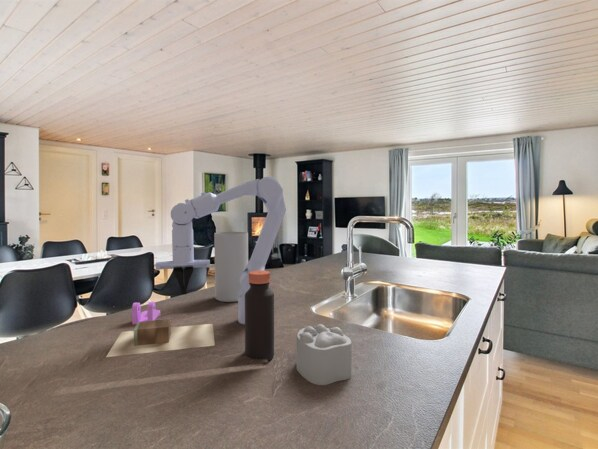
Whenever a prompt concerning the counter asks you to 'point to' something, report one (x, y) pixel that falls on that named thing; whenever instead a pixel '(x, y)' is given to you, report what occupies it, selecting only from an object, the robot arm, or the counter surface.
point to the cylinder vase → (229, 263)
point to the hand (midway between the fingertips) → (184, 293)
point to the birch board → (178, 340)
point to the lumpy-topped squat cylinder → (323, 354)
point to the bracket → (144, 313)
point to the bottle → (259, 317)
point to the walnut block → (152, 332)
